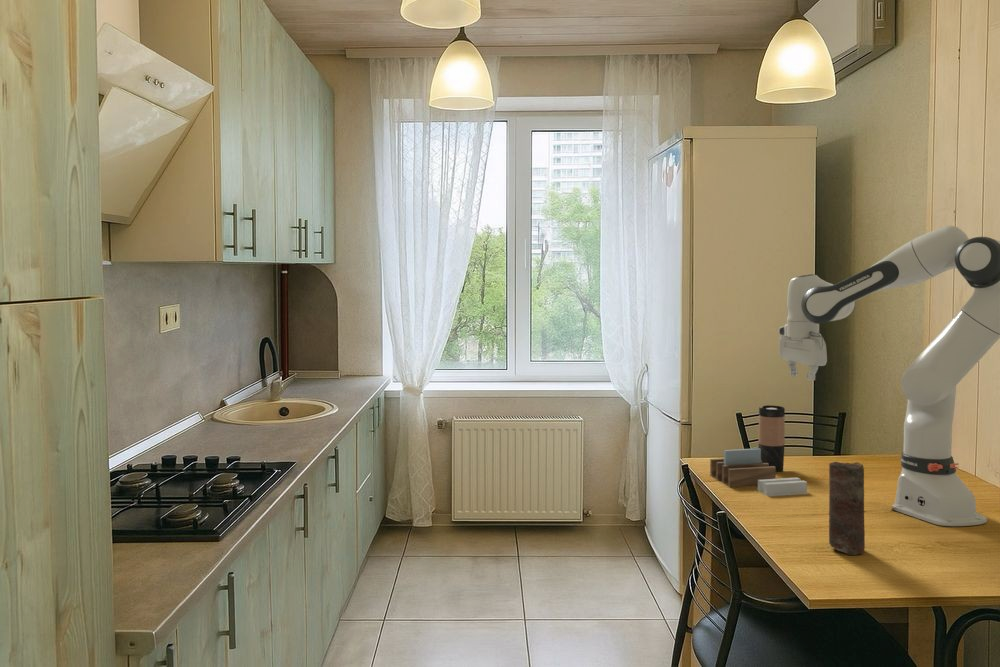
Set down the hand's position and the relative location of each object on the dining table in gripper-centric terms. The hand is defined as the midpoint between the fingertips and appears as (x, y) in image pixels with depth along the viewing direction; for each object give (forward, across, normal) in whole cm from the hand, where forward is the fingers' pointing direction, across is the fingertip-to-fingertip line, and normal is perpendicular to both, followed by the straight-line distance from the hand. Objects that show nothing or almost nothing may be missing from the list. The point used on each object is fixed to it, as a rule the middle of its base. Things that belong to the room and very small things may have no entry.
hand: (802, 378), depth 236 cm
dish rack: (+31, +3, +17) cm, 35 cm away
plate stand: (+31, -11, +12) cm, 35 cm away
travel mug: (+31, +14, +2) cm, 34 cm away
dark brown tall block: (+31, -54, +20) cm, 65 cm away
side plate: (+30, +3, +17) cm, 35 cm away
